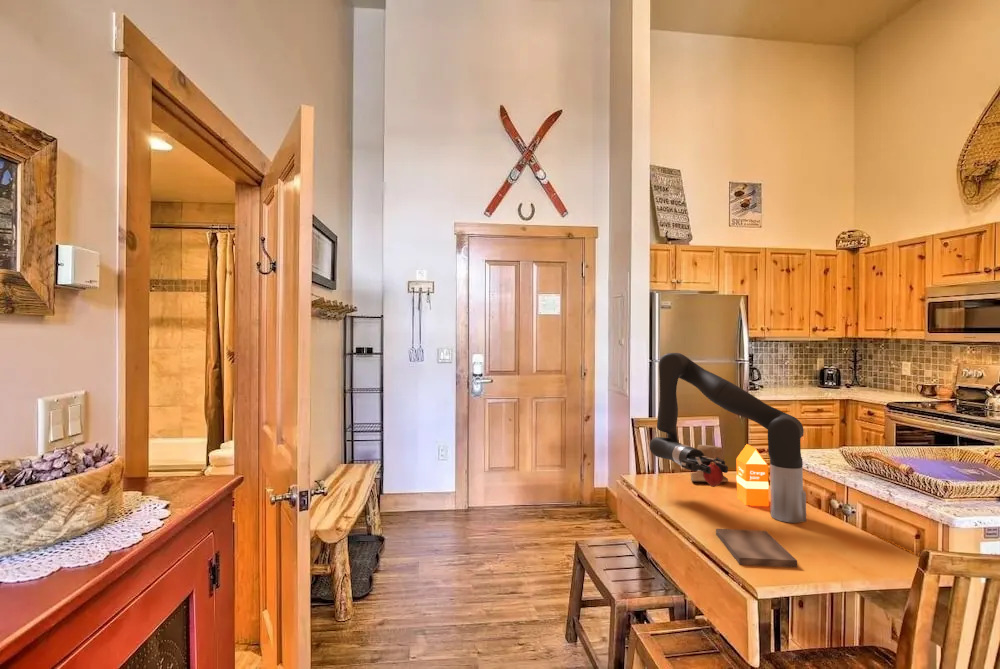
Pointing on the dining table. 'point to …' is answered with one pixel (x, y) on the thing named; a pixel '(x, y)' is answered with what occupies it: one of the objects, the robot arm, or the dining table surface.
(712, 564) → the dining table surface
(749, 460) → the orange juice
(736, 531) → the cutting board
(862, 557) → the dining table surface
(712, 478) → the onion
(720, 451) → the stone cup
